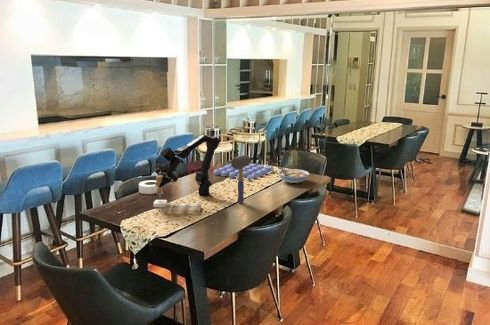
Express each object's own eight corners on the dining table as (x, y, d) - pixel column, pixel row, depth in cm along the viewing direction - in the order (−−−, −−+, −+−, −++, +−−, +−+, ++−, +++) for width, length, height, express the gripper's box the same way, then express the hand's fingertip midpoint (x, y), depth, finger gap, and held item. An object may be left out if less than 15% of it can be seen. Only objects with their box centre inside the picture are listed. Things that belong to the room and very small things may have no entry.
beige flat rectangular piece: (201, 207, 241) (200, 203, 240) (199, 214, 229) (198, 210, 228) (167, 207, 240) (167, 203, 240) (164, 214, 229) (163, 210, 228)
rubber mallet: (240, 206, 242) (240, 158, 235) (230, 204, 246) (229, 157, 239) (251, 201, 252) (251, 154, 245) (241, 199, 256) (241, 153, 249)
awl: (164, 195, 244) (163, 175, 241) (162, 198, 240) (161, 177, 237) (157, 195, 244) (156, 175, 241) (155, 198, 240) (154, 177, 237)
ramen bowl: (311, 187, 282) (311, 176, 280) (278, 187, 282) (279, 176, 280) (306, 178, 306) (307, 167, 304) (276, 177, 306) (277, 167, 305)
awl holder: (167, 203, 247) (167, 199, 246) (165, 207, 240) (164, 203, 239) (155, 203, 246) (155, 199, 246) (153, 207, 240) (153, 203, 239)
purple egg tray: (272, 172, 323) (272, 166, 322) (250, 182, 295) (250, 176, 294) (236, 167, 341) (236, 161, 340) (212, 175, 313) (212, 169, 312)
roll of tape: (152, 186, 283) (152, 178, 282) (167, 190, 274) (166, 182, 272) (134, 191, 272) (133, 183, 270) (148, 196, 262) (148, 187, 261)
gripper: (156, 155, 246) (140, 175, 241) (172, 160, 232) (156, 182, 228) (167, 165, 253) (153, 185, 248) (184, 171, 239) (169, 192, 235)
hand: (157, 186), depth 239 cm, fingers closed on awl, 4 cm apart
